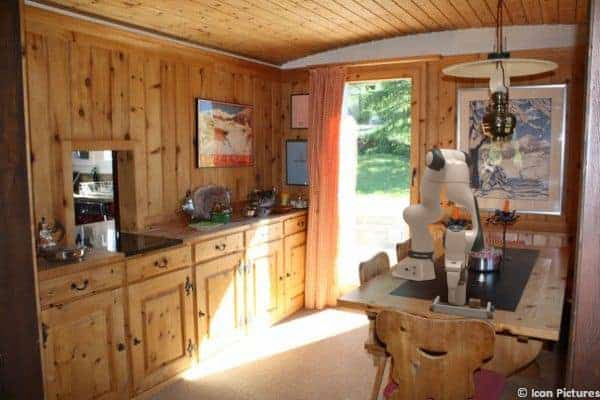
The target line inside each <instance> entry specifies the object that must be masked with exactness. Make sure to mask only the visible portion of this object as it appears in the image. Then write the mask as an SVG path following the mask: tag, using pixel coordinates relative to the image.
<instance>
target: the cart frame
mask: <svg viewBox="0 0 600 400" xmlns="http://www.w3.org/2000/svg"><path fill="white" fill-rule="evenodd" d="M440 299H441V298H440V295H437V296H436V298H433V300H432V305H429V308H428V309H429V311H432V312H434V313H442V314H449V315H457V316H462V317H463V316H464V317H471V318H479V319H485V320H486V319H487V320H490V319H494V314H493V313H494V311H495V305H491V304H492V302H490V301H488V302H487V306H486V310H484V309H480V310H478V309H470V308H469V307H462V306H461V307H460V306H455V305H445V304H440ZM491 311H492V312H493V313H492V312H491Z"/></svg>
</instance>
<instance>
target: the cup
mask: <svg viewBox="0 0 600 400" xmlns="http://www.w3.org/2000/svg"><path fill="white" fill-rule="evenodd" d="M466 288H467V283H466V282H465V281H462V280H459V281H458V285H457V288H456V289H454V288H447V289H448V293H447V295H448V296H447V297H448V299H447V301H448V302H447V303H449V304H450V305H451V306H463V305H465V304H466V296H467V295H466V292H467V290H466Z"/></svg>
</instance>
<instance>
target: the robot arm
mask: <svg viewBox="0 0 600 400" xmlns="http://www.w3.org/2000/svg"><path fill="white" fill-rule="evenodd" d="M424 161H425V162H424V163H425V165H426V166H425V168H424V170H423V174H422V178H421V181H420V184H419V188H418V192H419V193H420V194H421V198H422V199H421V203H414V204H413V203H412V204H411V205H408V206H406V207H404V209H403V211H402V218H403V221H404V223H405V224H406V225H408V228H409V230H410V236H411V248H408V250H407V256H405V258H403V259H402V260H400V261H399V262H398V263H397V265H396V269H395V270H393V271H392V272H391V276H392V277H393V278H399V279H405V280H410V281H417V282H421V281H430V280H434V279H436V274H435V268H434V261H435V250H434V241H435V239H434V235H433V234H432V232H430V230H429V227H428V226H429V225H428V224H434V223H437V222H439V221H441V220H442V219H443V217H444V214H445V211H444V207H443V206H442V203H441V195H442V191H443V187H444V195H445V197H446V198H447V199H448V200H449V201H451V202H452V203H453V204H456V205H458V206H461V207H463V208H466V210H468V211H469V213H470V218H471V223H472V229H470V230H466V228H465V227H464V226H462V225H459V224H452V225H449V226H448V227H447V228H446V230H445V231H444V232H443V233H442V247H443V248H444V249H445V252H444V267H445V268H444V269H445V270H444V271H446V280H447V287H448V288H454V289H456V288H457V285H458V281H460V278H461V271H462V270H463V269H464V268H465V267H466V252H470V253H476V254H479V253H480V252H482V251H483V250H484V249H485V247H486V237H485V233H484V231H483V224H482V219H481V217H482V216H481V213H480V207H479V202H478V198H477V196H476V195H474V194H473V192H472V190H471V187H470V171H469V168H470V167H471V164H472V163H471V162H472V159H471V156H470V154H469V153H468V152H466V151H464V150H458V149H457V150H456V149H452V148H438V147H436V148H435V147H433V148H431V149H429V150H428V151H427V152H426V154H425V158H424ZM448 288H447V289H448Z"/></svg>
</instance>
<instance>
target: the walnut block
mask: <svg viewBox="0 0 600 400" xmlns="http://www.w3.org/2000/svg"><path fill="white" fill-rule="evenodd" d="M468 308H470V309H478V310H481V299H477V298H471V297H470V299H469V303H468Z"/></svg>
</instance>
